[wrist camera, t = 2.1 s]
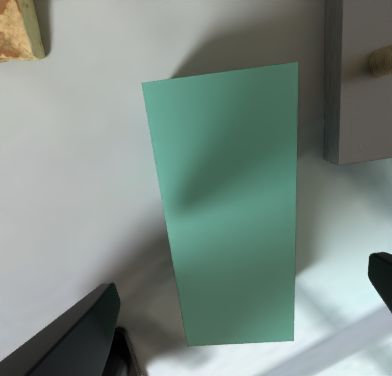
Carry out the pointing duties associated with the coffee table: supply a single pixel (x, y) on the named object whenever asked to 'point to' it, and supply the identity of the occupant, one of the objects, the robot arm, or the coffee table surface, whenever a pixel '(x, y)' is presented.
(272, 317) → the green rectangular block
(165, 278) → the coffee table surface
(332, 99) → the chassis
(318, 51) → the coffee table surface
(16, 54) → the shard
